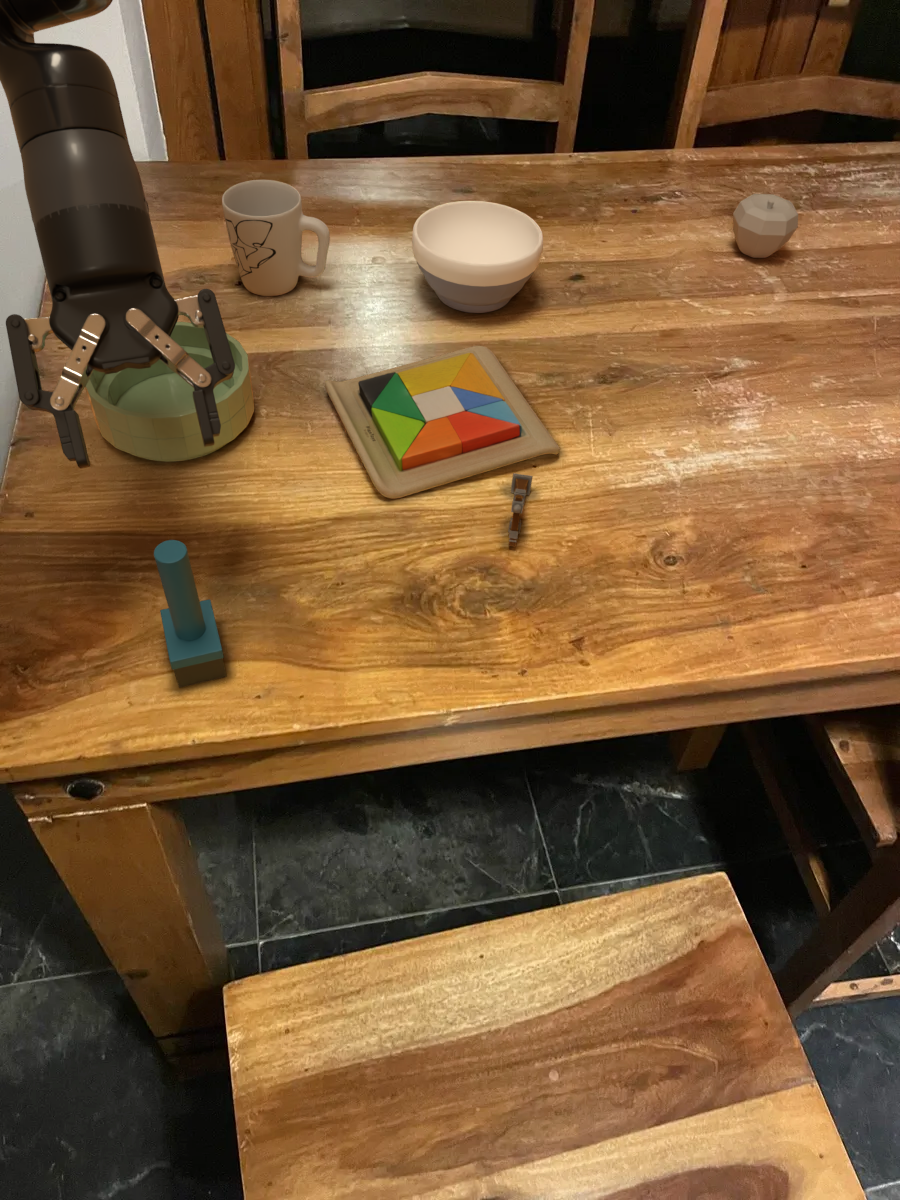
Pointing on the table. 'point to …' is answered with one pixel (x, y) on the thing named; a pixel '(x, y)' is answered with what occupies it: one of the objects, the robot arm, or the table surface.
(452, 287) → the bowl
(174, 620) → the teal peg on base
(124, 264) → the robot arm
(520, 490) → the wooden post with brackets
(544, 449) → the wooden puzzle
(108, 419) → the wash bowl
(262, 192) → the mug
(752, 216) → the apple
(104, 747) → the table surface
